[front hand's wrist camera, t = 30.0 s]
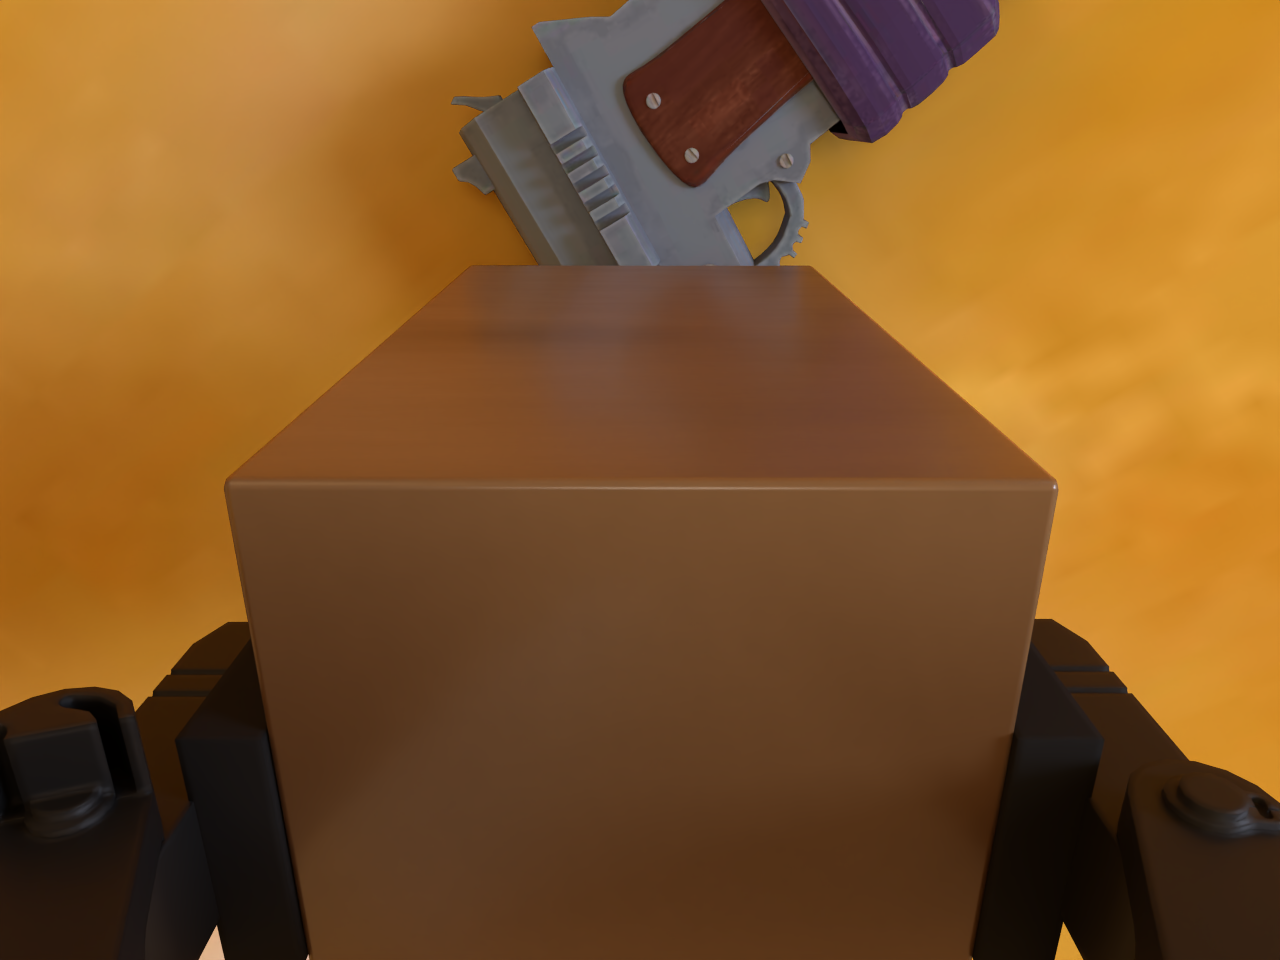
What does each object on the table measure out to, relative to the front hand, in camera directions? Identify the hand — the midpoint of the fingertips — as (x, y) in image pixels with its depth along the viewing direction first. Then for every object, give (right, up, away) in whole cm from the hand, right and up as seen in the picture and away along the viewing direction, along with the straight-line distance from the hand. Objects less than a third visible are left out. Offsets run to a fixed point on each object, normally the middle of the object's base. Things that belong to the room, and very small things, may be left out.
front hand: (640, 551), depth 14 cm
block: (0, +2, +5) cm, 5 cm away
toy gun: (+5, +8, +11) cm, 14 cm away
